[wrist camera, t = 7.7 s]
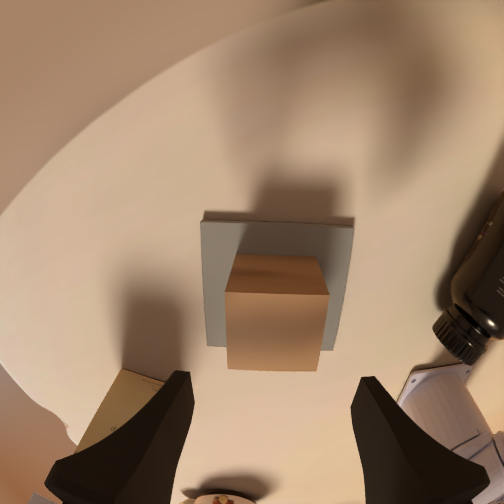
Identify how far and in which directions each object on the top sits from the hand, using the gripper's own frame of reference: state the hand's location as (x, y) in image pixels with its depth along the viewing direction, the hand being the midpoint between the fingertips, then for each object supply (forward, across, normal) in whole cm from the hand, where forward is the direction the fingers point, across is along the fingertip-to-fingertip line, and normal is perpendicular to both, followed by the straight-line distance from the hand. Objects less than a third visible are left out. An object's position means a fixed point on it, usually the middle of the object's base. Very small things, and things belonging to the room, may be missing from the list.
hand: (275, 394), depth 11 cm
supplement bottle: (+6, -19, -8) cm, 22 cm away
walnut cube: (+9, 0, 0) cm, 9 cm away
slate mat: (+9, 0, 0) cm, 9 cm away
